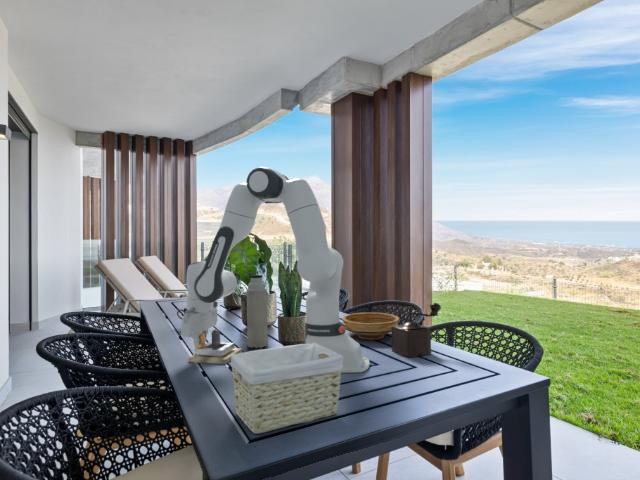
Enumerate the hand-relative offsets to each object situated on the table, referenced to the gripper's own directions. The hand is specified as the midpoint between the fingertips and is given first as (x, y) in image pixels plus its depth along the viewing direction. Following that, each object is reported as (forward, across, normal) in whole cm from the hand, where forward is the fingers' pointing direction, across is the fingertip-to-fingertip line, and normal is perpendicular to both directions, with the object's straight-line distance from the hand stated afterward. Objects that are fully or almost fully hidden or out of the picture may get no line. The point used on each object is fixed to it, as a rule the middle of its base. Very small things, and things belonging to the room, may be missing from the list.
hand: (200, 343), depth 151 cm
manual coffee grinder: (+5, +18, -77) cm, 79 cm away
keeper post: (+5, 0, -6) cm, 8 cm away
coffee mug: (+5, +44, +29) cm, 53 cm away
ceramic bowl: (+5, +39, -58) cm, 70 cm away
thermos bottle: (+5, +18, -15) cm, 24 cm away
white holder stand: (+3, 0, -5) cm, 6 cm away
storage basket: (+5, -42, -46) cm, 62 cm away
